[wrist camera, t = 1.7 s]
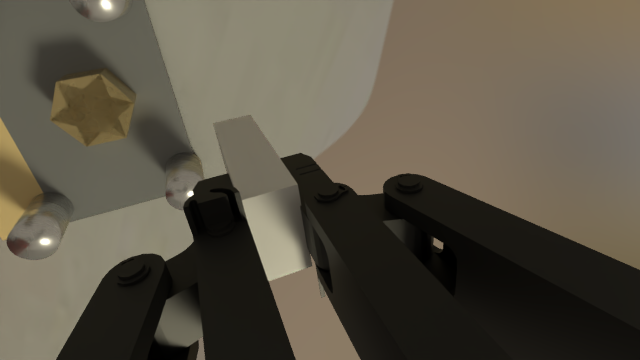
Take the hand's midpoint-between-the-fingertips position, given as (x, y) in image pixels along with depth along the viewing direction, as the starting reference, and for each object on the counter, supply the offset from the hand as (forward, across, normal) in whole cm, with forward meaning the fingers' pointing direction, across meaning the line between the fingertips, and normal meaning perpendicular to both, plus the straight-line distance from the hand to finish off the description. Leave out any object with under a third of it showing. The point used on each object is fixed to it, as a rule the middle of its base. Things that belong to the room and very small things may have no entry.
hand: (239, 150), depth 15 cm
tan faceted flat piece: (+15, -8, 0) cm, 17 cm away
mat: (+16, -10, 0) cm, 18 cm away
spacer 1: (+16, -14, -7) cm, 22 cm away
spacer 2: (+16, -5, +6) cm, 18 cm away
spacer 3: (+16, -4, -6) cm, 17 cm away
